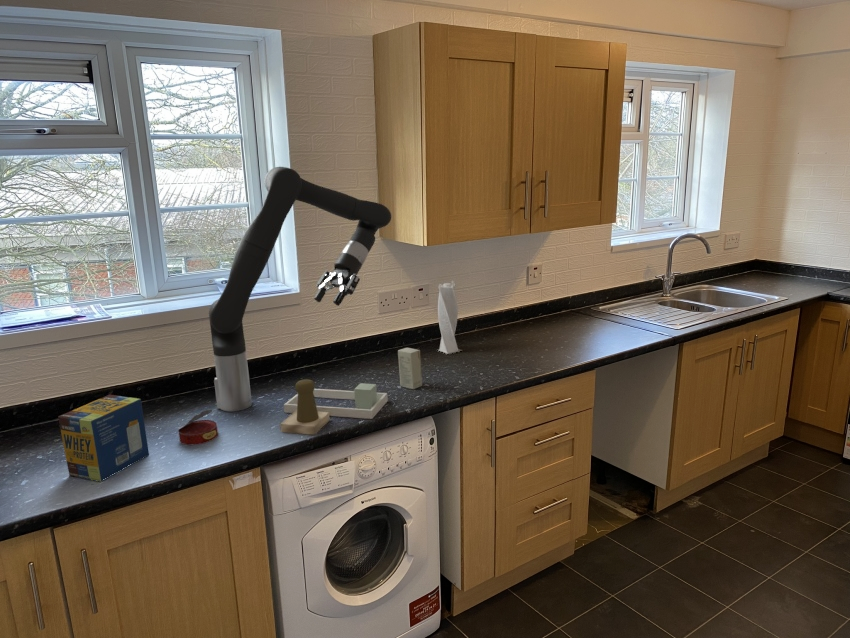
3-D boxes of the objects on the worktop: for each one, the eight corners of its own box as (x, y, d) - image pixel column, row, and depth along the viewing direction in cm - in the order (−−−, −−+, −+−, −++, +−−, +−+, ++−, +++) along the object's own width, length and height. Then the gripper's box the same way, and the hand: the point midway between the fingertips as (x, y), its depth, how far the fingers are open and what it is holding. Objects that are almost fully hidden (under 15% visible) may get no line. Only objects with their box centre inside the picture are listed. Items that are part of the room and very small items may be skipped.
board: (281, 431, 170) (280, 423, 169) (297, 417, 179) (296, 409, 179) (314, 434, 167) (314, 426, 167) (329, 420, 177) (329, 412, 176)
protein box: (68, 476, 149) (56, 416, 145) (119, 449, 163) (110, 393, 159) (100, 483, 145) (89, 421, 142) (150, 454, 159) (141, 397, 156)
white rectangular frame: (284, 412, 184) (283, 404, 183) (305, 395, 197) (304, 388, 196) (372, 418, 177) (371, 410, 176) (387, 401, 190) (387, 393, 189)
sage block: (355, 411, 183) (354, 389, 181) (361, 405, 187) (360, 383, 186) (371, 412, 181) (370, 390, 180) (377, 406, 186) (376, 384, 184)
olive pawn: (312, 412, 177) (309, 375, 174) (322, 418, 172) (319, 381, 169) (293, 417, 173) (289, 380, 171) (302, 424, 168) (298, 386, 166)
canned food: (191, 461, 165) (168, 436, 160) (188, 443, 174) (166, 418, 169) (228, 436, 167) (207, 410, 162) (223, 419, 176) (202, 394, 171)
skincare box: (422, 386, 201) (421, 350, 198) (413, 390, 198) (411, 353, 195) (408, 382, 206) (406, 346, 203) (399, 385, 203) (397, 349, 200)
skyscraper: (464, 352, 236) (463, 279, 229) (447, 356, 232) (445, 282, 225) (451, 347, 243) (449, 276, 236) (434, 351, 239) (432, 279, 232)
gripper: (329, 250, 193) (303, 292, 188) (361, 253, 184) (334, 297, 179) (342, 264, 198) (318, 306, 193) (374, 268, 189) (349, 312, 184)
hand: (326, 302), depth 186 cm, fingers open, 8 cm apart
